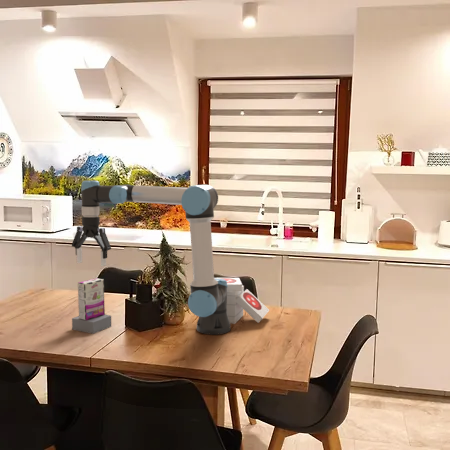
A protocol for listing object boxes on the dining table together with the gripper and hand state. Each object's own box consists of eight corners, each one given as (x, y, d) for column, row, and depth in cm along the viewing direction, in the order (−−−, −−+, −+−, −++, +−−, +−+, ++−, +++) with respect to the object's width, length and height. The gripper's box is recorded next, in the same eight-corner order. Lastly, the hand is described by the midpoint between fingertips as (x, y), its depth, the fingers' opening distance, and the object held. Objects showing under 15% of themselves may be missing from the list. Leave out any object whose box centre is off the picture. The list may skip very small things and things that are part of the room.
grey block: (111, 326, 239) (111, 315, 238) (93, 333, 228) (93, 322, 228) (90, 322, 244) (90, 311, 244) (72, 329, 234) (72, 318, 233)
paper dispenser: (261, 327, 240) (262, 288, 238) (199, 321, 249) (199, 283, 247) (270, 316, 259) (271, 280, 257) (211, 310, 267) (212, 275, 265)
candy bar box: (97, 313, 242) (97, 277, 240) (105, 315, 239) (104, 279, 237) (77, 318, 233) (77, 282, 231) (85, 320, 230) (84, 283, 228)
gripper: (119, 217, 229) (119, 265, 231) (75, 214, 240) (75, 260, 242) (107, 218, 222) (108, 268, 224) (62, 215, 233) (63, 262, 236)
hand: (91, 264), depth 233 cm, fingers open, 13 cm apart
